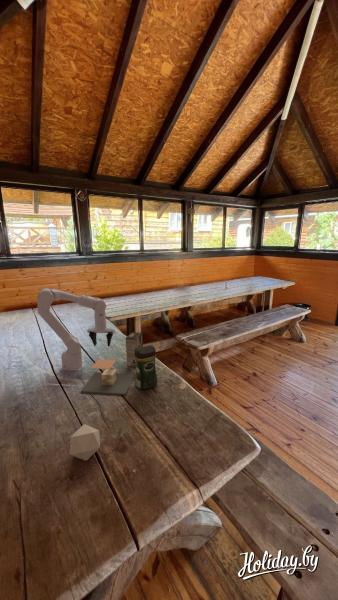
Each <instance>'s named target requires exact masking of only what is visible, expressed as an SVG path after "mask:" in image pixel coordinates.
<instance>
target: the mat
mask: <svg viewBox="0 0 338 600" xmlns="http://www.w3.org/2000/svg"><path fill="white" fill-rule="evenodd" d="M102 373H103V372H101V371H100V372H97V371H95V372H94V374H93V375H92V376H91V377H90V378H89V379H88V381H87V382H86V384H85V385H84V386H83V387H82V389H81V390H80V393H82V394H83V393H84V394H99V395H113V396H114V395H115V396H127V394H128V392H129V389H130V386H131V384H132V382H133V380H134V377H136V373H118V372H116V377H117V380H116V381H115V383H114V384H113V385H102Z"/></svg>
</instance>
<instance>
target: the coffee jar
mask: <svg viewBox="0 0 338 600" xmlns="http://www.w3.org/2000/svg"><path fill="white" fill-rule="evenodd" d="M134 357H135V360H136V366H135V370H136V371H135V381H134V382H135V386H136V387H137V388H138V389H139V390H147V389H149V388H153V387H155V386H157V384H158V376H157V368H156V357H157V352H156V348H155V346H154V345H153V344H149V345H143V347H139V348H135V351H134Z"/></svg>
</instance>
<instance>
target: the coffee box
mask: <svg viewBox="0 0 338 600" xmlns="http://www.w3.org/2000/svg"><path fill="white" fill-rule="evenodd" d="M143 343H144V342H143V332H136V331H135V332H133V331H132V332H130V333H129V334H128V335H127V336H126V337H125V352H126V365H127V366H131V367H136V360H135V357H134V351H135V348H139V347H143V346H144V345H143Z"/></svg>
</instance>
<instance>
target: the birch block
mask: <svg viewBox="0 0 338 600" xmlns="http://www.w3.org/2000/svg"><path fill="white" fill-rule="evenodd" d="M101 373H102V385H113V384H114V383H115V381H116V380H117V377H116V373H117V369H112V368H110V369H104V370H103V372H101Z"/></svg>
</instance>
